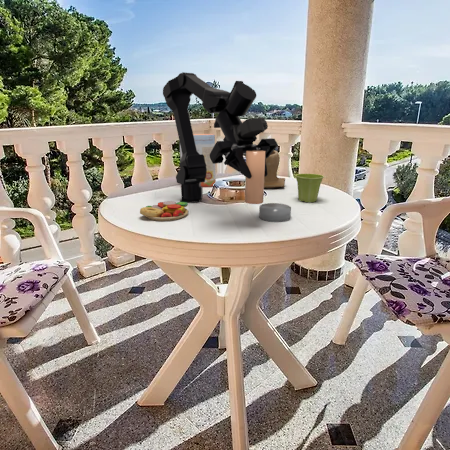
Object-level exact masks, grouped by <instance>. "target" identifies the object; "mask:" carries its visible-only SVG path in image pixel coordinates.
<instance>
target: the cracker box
mask: <svg viewBox="0 0 450 450" xmlns="http://www.w3.org/2000/svg"><path fill="white" fill-rule="evenodd" d="M193 136H194V140H195V145H196V150H197V152H198V153H199V154H200V155H201V154H203V155H204V158H205V163H206V168H207V173H206V178H205V182H201V186H202V188H207V187H209V188H210V187H212V186H213V184H214V183H215V182H216V181H217V180H216V179H217V177H216V172H217V171H216V164H213V163H212V161H211V159H210V153H211V151H212V149H213V147H214V146H215V144H216V135H215V134H213V133H193ZM179 157H180V158H179V161H180V160H181V157H182V150H181V145H180V144H179Z"/></svg>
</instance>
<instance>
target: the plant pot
mask: <svg viewBox="0 0 450 450" xmlns="http://www.w3.org/2000/svg"><path fill="white" fill-rule="evenodd" d="M294 176H295V178H296V182H297V194H298V195H297V196H298V197H297V198H298V201H300V202H305V203H315V202H317V201H318V196H319V192H320V188H321V184H322V182H323V178H324V177H325V176H324V175H323V174H319V173H318V174H317V173H297V174H295V175H294Z"/></svg>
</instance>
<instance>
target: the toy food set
mask: <svg viewBox="0 0 450 450" xmlns="http://www.w3.org/2000/svg"><path fill="white" fill-rule="evenodd" d="M188 205H189V202H180V201H179V202H177V201H172V200H170V201H160V202H158V203H157V204H153V205H147V206H144V207H143V206H142V207H141V208H140V209H139V214H140V215H142V216H145V217H146V218H147V219H149V220H150V221H151V220H152V221H159V222H168V221H169V222H170V221H176V220H181V219H182V218H184V217H186V216H187V215H188V214H189V209H187V208H186V207H187V206H188Z"/></svg>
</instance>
